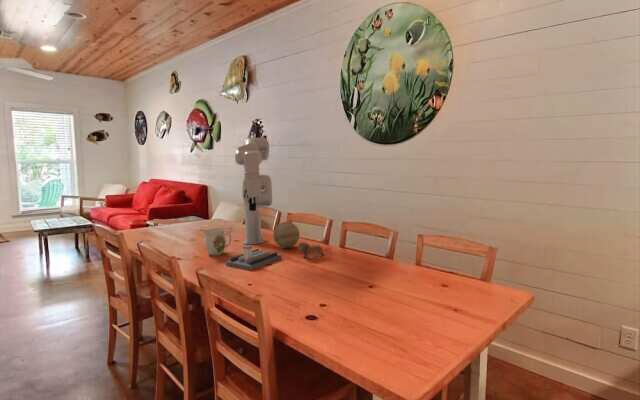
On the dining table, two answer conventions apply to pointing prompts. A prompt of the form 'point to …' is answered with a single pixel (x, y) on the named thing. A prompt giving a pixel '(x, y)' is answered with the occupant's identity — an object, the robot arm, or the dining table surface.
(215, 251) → the pitcher
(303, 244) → the lion figurine
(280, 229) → the decorative ball
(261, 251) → the breaker panel
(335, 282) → the dining table surface
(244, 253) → the knob
